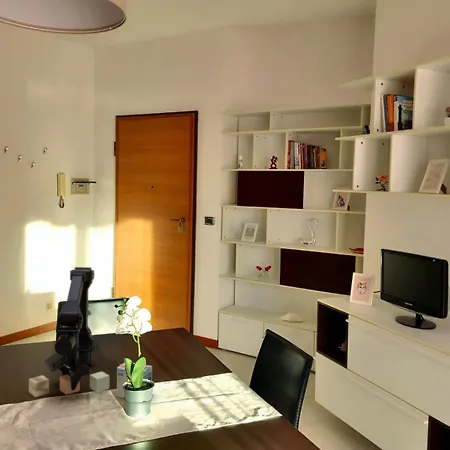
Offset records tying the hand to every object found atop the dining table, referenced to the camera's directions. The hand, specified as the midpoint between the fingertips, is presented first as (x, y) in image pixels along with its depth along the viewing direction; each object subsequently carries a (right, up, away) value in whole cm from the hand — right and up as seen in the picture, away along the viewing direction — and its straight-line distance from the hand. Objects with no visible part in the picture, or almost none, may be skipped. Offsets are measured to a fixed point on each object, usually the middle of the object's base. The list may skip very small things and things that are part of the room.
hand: (69, 387), depth 187 cm
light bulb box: (+23, -2, -2) cm, 23 cm away
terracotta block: (0, -1, 0) cm, 1 cm away
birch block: (-10, -1, -3) cm, 10 cm away
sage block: (+10, -1, +3) cm, 10 cm away
